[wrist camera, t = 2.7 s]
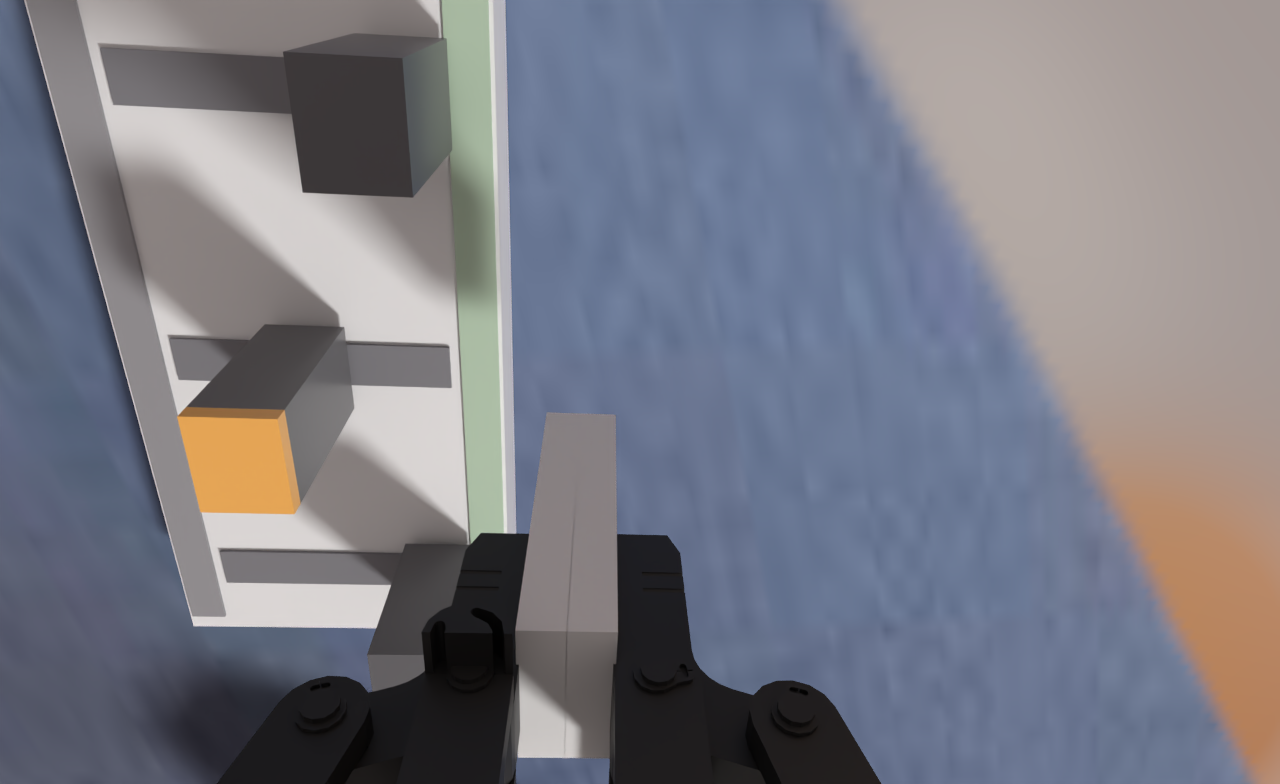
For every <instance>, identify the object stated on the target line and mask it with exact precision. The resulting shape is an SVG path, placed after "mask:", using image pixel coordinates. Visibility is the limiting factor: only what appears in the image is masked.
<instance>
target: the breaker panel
mask: <svg viewBox="0 0 1280 784" xmlns="http://www.w3.org/2000/svg"><path fill="white" fill-rule="evenodd" d="M24 1H25V5H26V9H27V12H28V16H29V20H30V24H31V27H32V31H33V35H34V38H35V42H36V46H37V49H38V53H39V57H40V60H41V64H42V68H43V72H44V75H45V79H46V83H47V86H48V90H49V94H50V97H51V101H52V105H53V108H54V112H55V116H56V119H57V123H58V127H59V131H60V134H61V138H62V142H63V145H64V149H65V153H66V156H67V160H68V164H69V167H70V171H71V175H72V178H73V182H74V186H75V190H76V193H77V197H78V201H79V204H80V208H81V212H82V215H83V219H84V223H85V226H86V230H87V234H88V238H89V241H90V245H91V249H92V252H93V256H94V260H95V263H96V267H97V271H98V274H99V278H100V282H101V285H102V289H103V293H104V297H105V300H106V304H107V308H108V311H109V315H110V319H111V322H112V326H113V330H114V333H115V337H116V341H117V345H118V348H119V352H120V356H121V359H122V363H123V367H124V370H125V374H126V378H127V381H128V385H129V389H130V392H131V396H132V400H133V404H134V407H135V411H136V415H137V418H138V422H139V426H140V429H141V433H142V437H143V440H144V444H145V448H146V451H147V455H148V459H149V463H150V466H151V470H152V474H153V477H154V481H155V485H156V488H157V492H158V496H159V499H160V503H161V507H162V511H163V514H164V518H165V522H166V525H167V529H168V533H169V536H170V540H171V544H172V547H173V551H174V555H175V558H176V562H177V566H178V570H179V573H180V577H181V581H182V584H183V588H184V592H185V595H186V599H187V603H188V606H189V610H190V614H191V618H192V621H193V625H194V626H236V627H322V628H377V625H378V622H379V619H380V616H381V613H382V610H383V607H384V605H385V602H386V599H387V596H388V593H389V590H390V587H391V584H392V581H393V578H394V575H395V573H396V570H397V567H398V564H399V561H400V558H401V555H402V552H403V549H404V546H405V544H457V545H470V544H471V543H472V542H473V541H474V540H475V539H476V538H477V537H478V536H479V534H480V533H511V534H516V496H515V447H514V398H513V349H512V300H511V250H510V201H509V152H508V103H507V54H506V5H505V0H24ZM353 33H360V34H378V35H395V36H413V37H431V38H447V55H448V75H449V94H450V113H451V132H452V151H451V152H450V154H449V155H448V156H447V157H446V158H445V160H444V161H443V162H442V163H441V164H440V166H439V167H438V168H437V169H436V171H435V172H434V173H433V174H432V175H431V177H430V178H429V179H428V180H427V181H426V183H425V184H424V185H423V186H422V187H421V189H420V190H419V191H418V192H417V193H416V195H415V196H414V197H413V198H410V197H387V196H365V195H342V194H320V193H303V192H302V185H301V178H300V171H299V163H298V156H297V149H296V142H295V135H294V128H293V121H292V113H291V106H290V99H289V92H288V85H287V78H286V71H285V63H284V56H283V51H287V50H291V49H295V48H299V47H303V46H306V45H310V44H314V43H318V42H322V41H326V40H330V39H333V38H337V37H341V36H345V35H349V34H353ZM264 324H274V325H303V326H332V327H344V328H345V336H346V344H347V352H348V360H349V368H350V376H351V384H352V392H353V400H354V410H353V412H352V414H351V415H350V417H349V419H348V421H347V422H346V424H345V426H344V428H343V430H342V431H341V433H340V435H339V437H338V438H337V440H336V442H335V444H334V445H333V447H332V449H331V451H330V453H329V454H328V456H327V458H326V460H325V461H324V463H323V465H322V467H321V468H320V470H319V472H318V474H317V476H316V477H315V479H314V481H313V483H312V484H311V486H310V488H309V490H308V491H307V493H306V495H305V497H304V499H303V500H302V502H301V504H300V506H299V507H298V509H297V511H296V513H295V514H253V513H203V512H200V509H199V504H198V500H197V496H196V492H195V488H194V484H193V480H192V476H191V472H190V468H189V464H188V459H187V455H186V451H185V447H184V443H183V439H182V435H181V431H180V427H179V423H178V419H177V416H178V415H179V414H180V413H181V412H182V411H183V410H184V409H185V408H186V407H187V405H188V404H189V403H190V402H191V401H192V400H193V399H194V398H195V397H196V396H197V395H198V394H199V393H200V392H201V391H202V390H203V389H204V388H205V387H206V386H207V384H208V383H209V382H210V381H211V380H212V379H213V378H214V377H215V376H216V375H217V374H218V373H219V372H220V371H221V370H222V369H223V368H224V367H225V366H226V364H227V363H228V362H229V361H230V360H231V359H232V358H233V357H234V356H235V355H236V354H237V353H238V352H239V351H240V350H241V349H242V348H243V347H244V346H245V344H246V343H247V342H248V341H249V340H250V339H251V338H252V337H253V336H254V335H255V334H256V333H257V332H258V331H259V330H260V329H261V328H262V327H263V326H264Z"/></svg>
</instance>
